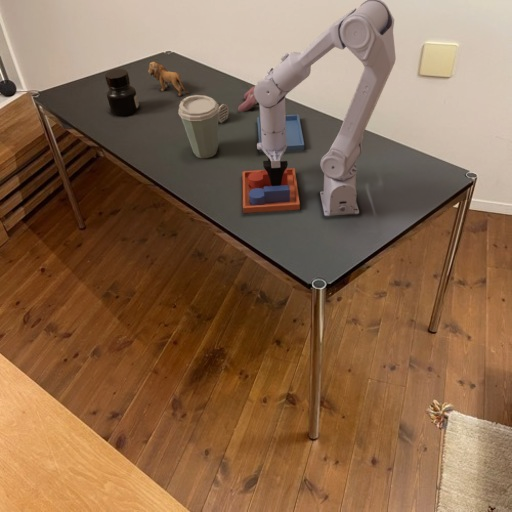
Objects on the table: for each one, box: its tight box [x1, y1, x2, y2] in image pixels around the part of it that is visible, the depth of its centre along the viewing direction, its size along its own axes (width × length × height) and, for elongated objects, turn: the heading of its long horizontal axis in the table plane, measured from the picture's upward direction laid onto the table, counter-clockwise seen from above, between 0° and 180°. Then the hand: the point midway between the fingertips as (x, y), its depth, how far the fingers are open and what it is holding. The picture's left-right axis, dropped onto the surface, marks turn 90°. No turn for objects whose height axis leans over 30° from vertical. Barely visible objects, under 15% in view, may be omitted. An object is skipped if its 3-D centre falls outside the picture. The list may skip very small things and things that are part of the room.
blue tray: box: [256, 113, 305, 154], centre depth 143 cm, size 17×12×2 cm
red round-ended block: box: [248, 168, 288, 189], centre depth 125 cm, size 10×4×4 cm, turn 92°
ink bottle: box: [104, 68, 140, 117], centre depth 158 cm, size 10×9×12 cm
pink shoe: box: [237, 85, 258, 112], centre depth 157 cm, size 10×5×7 cm, turn 168°
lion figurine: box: [146, 61, 190, 97], centre depth 168 cm, size 15×5×9 cm, turn 62°
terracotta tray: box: [242, 167, 301, 214], centre depth 124 cm, size 15×13×2 cm
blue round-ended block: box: [249, 185, 290, 206], centre depth 120 cm, size 10×4×4 cm, turn 91°
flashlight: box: [178, 95, 230, 124], centre depth 154 cm, size 15×5×5 cm, turn 58°
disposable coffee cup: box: [177, 94, 219, 159], centre depth 135 cm, size 11×11×15 cm
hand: (275, 176), depth 125 cm, fingers open, 7 cm apart
